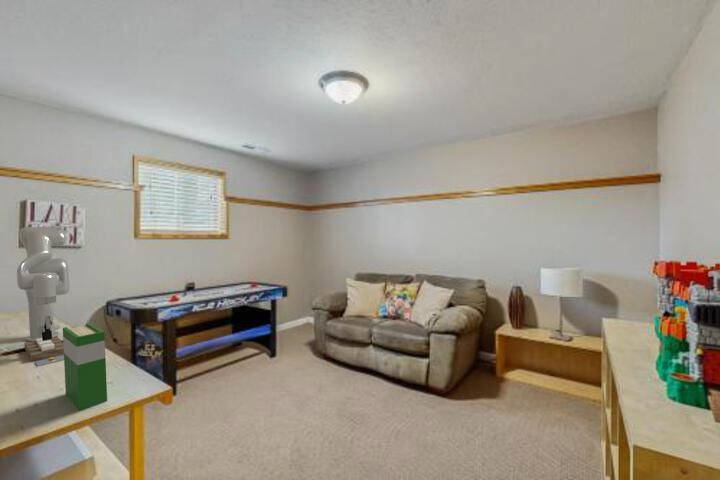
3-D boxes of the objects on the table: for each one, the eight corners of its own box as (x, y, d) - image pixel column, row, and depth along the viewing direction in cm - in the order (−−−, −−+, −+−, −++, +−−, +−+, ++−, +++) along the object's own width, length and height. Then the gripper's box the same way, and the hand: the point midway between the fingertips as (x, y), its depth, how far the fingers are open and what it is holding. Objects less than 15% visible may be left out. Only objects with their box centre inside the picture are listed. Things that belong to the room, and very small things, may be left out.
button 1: (36, 343, 164) (36, 339, 163) (48, 341, 167) (48, 336, 167) (37, 345, 161) (37, 341, 161) (49, 343, 164) (49, 338, 164)
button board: (24, 348, 163) (24, 342, 163) (57, 341, 172) (57, 336, 172) (31, 362, 147) (31, 355, 146) (67, 353, 156) (67, 347, 156)
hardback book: (65, 394, 118) (62, 327, 117) (91, 386, 124) (89, 322, 123) (79, 410, 107) (76, 337, 106) (107, 401, 113) (104, 331, 112)
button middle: (38, 346, 159) (38, 342, 159) (50, 344, 162) (50, 339, 162) (39, 348, 156) (39, 344, 156) (52, 346, 160) (52, 341, 160)
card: (35, 362, 146) (35, 360, 146) (65, 355, 154) (65, 354, 154) (37, 366, 142) (37, 365, 142) (68, 359, 150) (68, 357, 149)
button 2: (40, 350, 155) (40, 345, 154) (53, 347, 158) (52, 342, 158) (41, 352, 152) (41, 347, 152) (54, 349, 155) (54, 345, 155)
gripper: (31, 300, 156) (33, 338, 156) (36, 304, 146) (38, 345, 147) (53, 297, 162) (55, 334, 162) (59, 301, 152) (60, 340, 152)
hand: (47, 339), depth 154 cm, fingers closed
